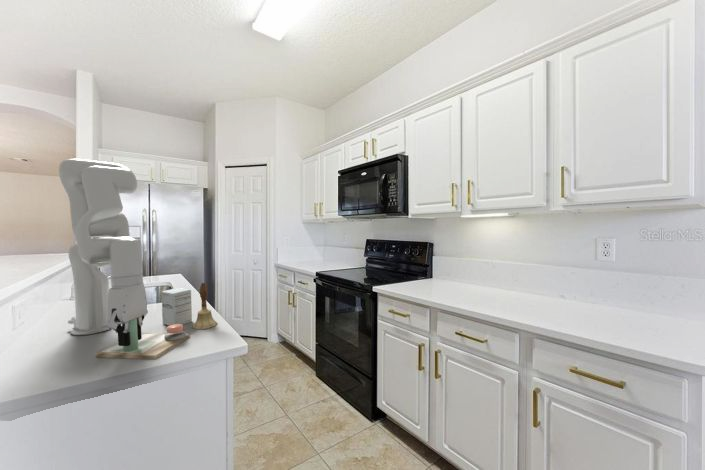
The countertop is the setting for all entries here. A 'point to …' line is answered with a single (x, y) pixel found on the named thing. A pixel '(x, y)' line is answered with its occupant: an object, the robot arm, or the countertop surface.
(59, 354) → the countertop surface
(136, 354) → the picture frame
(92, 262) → the robot arm
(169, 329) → the button
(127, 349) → the green cylinder
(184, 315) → the supplement box
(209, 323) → the hand bell
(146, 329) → the countertop surface
